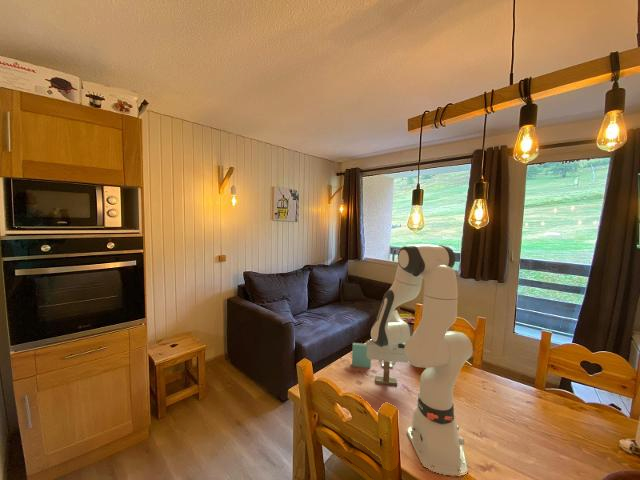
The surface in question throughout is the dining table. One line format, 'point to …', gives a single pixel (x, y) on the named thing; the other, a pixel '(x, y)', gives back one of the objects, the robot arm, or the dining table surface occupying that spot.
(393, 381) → the inverted t stand
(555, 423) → the dining table surface
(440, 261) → the robot arm
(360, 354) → the tile
